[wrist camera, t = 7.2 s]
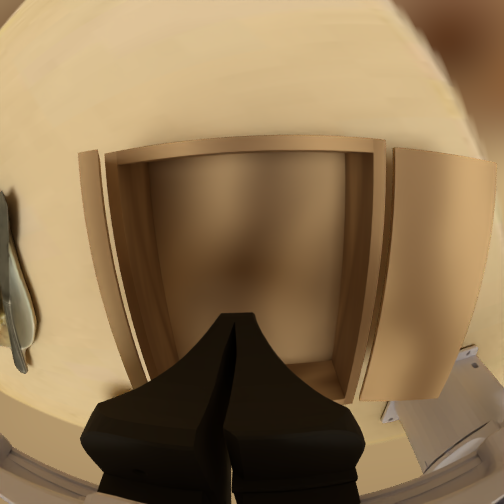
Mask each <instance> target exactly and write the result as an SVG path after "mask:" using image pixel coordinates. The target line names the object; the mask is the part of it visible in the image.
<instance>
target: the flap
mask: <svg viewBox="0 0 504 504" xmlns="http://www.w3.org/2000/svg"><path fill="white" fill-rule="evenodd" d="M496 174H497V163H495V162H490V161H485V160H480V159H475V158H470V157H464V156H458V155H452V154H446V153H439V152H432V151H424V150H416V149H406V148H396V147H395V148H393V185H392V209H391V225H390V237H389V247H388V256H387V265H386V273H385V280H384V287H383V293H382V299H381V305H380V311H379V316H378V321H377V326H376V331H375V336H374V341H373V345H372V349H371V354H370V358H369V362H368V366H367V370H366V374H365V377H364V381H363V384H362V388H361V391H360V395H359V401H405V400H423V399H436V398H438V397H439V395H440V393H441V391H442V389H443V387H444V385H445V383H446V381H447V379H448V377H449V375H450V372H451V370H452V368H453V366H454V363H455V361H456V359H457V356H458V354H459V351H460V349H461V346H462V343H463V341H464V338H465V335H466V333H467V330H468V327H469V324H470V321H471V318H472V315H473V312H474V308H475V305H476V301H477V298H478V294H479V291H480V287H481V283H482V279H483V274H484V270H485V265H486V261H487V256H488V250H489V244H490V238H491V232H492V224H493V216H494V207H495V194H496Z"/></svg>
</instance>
